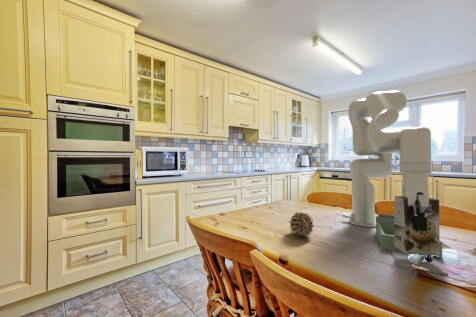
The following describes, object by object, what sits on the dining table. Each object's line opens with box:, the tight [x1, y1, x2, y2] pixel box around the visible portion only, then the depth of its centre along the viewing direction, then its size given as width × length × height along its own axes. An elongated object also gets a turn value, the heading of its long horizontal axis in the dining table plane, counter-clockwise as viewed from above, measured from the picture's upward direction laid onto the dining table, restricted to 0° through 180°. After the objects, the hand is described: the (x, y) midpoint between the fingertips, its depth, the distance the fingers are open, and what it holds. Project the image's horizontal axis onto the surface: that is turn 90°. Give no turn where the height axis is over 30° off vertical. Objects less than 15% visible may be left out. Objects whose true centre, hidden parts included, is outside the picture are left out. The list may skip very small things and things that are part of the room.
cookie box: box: [394, 195, 441, 256], centre depth 67 cm, size 9×6×16 cm
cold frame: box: [375, 213, 443, 259], centre depth 82 cm, size 16×20×8 cm
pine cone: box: [289, 211, 315, 237], centre depth 94 cm, size 22×10×10 cm, turn 175°
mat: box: [390, 250, 449, 276], centre depth 67 cm, size 11×12×1 cm
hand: (415, 226), depth 67 cm, fingers closed on cookie box, 7 cm apart
